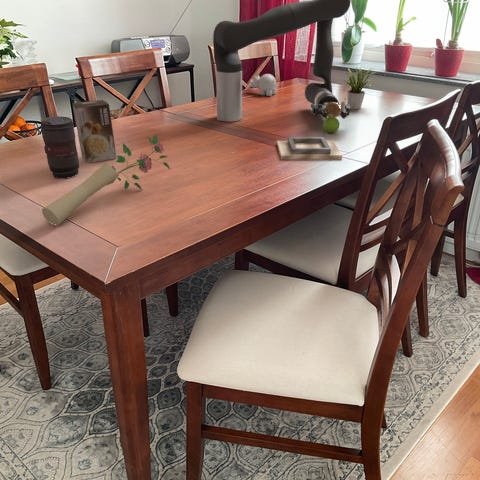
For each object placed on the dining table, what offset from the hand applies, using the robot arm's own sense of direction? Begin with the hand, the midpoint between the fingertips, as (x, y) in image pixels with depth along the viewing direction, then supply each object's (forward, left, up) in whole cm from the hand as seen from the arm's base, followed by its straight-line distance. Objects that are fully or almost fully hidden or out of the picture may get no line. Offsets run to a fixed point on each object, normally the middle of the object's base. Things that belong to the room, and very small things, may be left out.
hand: (335, 115), depth 162 cm
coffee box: (-74, -21, -7) cm, 77 cm away
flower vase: (-65, -51, -7) cm, 83 cm away
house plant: (+17, +37, -7) cm, 41 cm away
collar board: (-11, -16, -7) cm, 21 cm away
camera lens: (-80, -34, -7) cm, 87 cm away
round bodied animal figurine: (-20, +61, -7) cm, 64 cm away
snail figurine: (0, +3, -7) cm, 7 cm away
